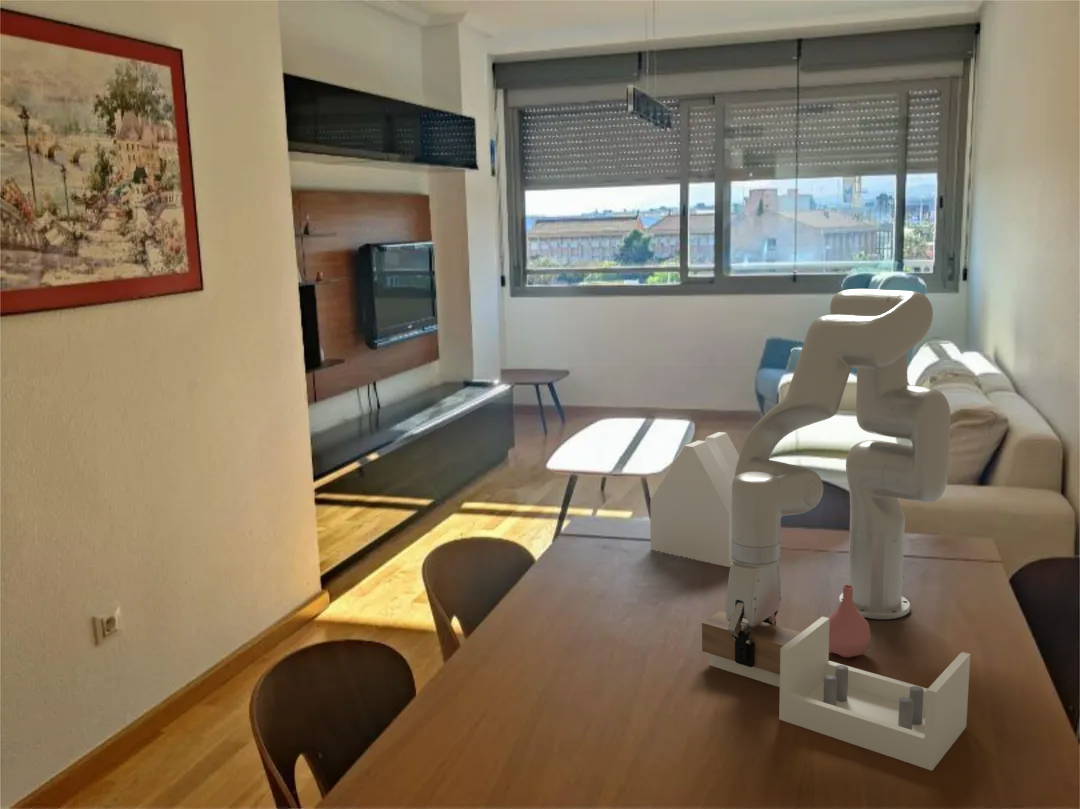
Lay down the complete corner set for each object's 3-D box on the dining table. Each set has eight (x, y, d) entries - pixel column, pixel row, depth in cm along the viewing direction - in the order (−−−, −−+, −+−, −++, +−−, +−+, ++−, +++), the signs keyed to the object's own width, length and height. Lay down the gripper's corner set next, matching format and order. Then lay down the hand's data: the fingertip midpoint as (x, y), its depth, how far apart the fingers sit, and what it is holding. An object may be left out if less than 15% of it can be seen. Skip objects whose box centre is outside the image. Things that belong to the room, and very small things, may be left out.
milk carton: (650, 550, 216) (649, 440, 211) (685, 531, 227) (685, 427, 223) (729, 567, 204) (729, 451, 199) (761, 546, 216) (762, 437, 211)
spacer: (722, 656, 163) (722, 642, 162) (799, 680, 154) (800, 665, 153) (709, 665, 160) (709, 651, 159) (788, 689, 151) (788, 675, 150)
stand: (820, 683, 153) (822, 616, 151) (966, 727, 139) (970, 654, 136) (779, 719, 142) (780, 648, 140) (932, 770, 128) (936, 692, 126)
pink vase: (870, 647, 165) (873, 580, 162) (870, 667, 158) (872, 597, 155) (823, 642, 167) (824, 576, 165) (820, 661, 160) (822, 592, 158)
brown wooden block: (720, 638, 164) (720, 610, 163) (809, 664, 154) (810, 634, 153) (702, 651, 159) (702, 622, 158) (792, 678, 149) (792, 648, 148)
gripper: (760, 531, 162) (759, 632, 165) (706, 561, 149) (706, 670, 153) (802, 540, 157) (800, 643, 161) (750, 572, 144) (749, 684, 148)
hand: (754, 655), depth 157 cm, fingers closed on brown wooden block, 6 cm apart
